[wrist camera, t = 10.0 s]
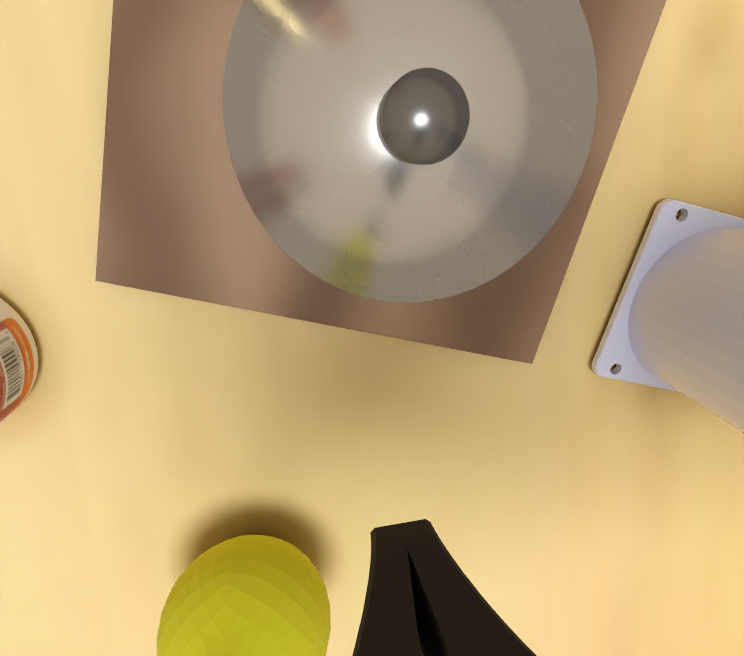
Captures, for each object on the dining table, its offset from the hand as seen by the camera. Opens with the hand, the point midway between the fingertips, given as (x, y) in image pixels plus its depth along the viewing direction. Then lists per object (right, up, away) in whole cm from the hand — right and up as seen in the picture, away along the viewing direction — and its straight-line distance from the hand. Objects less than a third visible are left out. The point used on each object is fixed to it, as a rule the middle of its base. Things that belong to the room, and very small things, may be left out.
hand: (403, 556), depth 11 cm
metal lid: (-1, +15, +5) cm, 16 cm away
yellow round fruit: (-7, -6, +13) cm, 16 cm away
